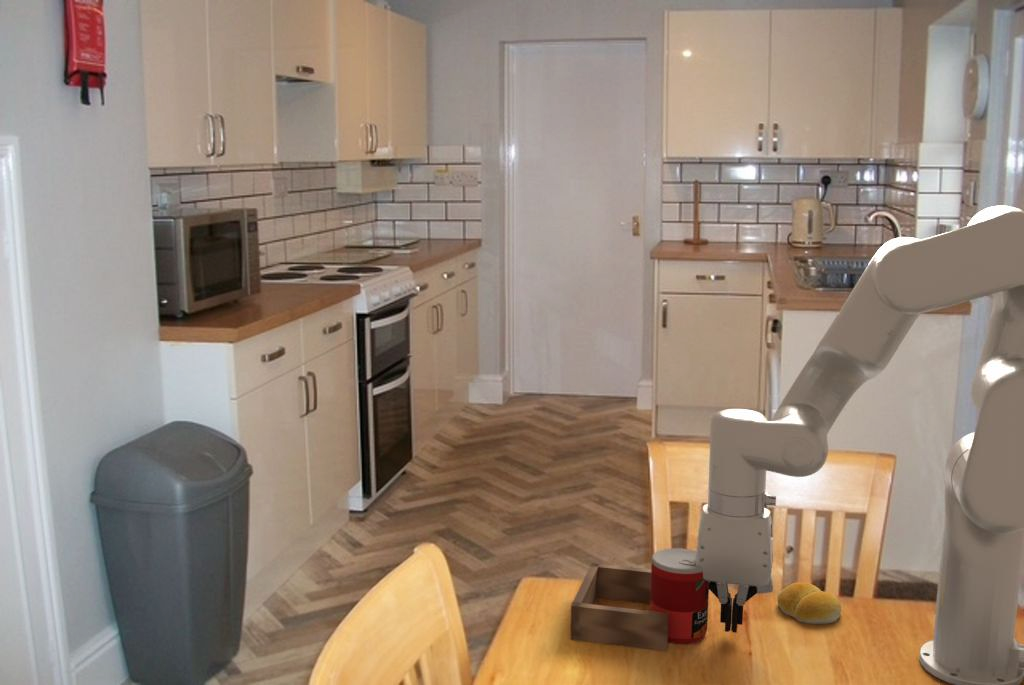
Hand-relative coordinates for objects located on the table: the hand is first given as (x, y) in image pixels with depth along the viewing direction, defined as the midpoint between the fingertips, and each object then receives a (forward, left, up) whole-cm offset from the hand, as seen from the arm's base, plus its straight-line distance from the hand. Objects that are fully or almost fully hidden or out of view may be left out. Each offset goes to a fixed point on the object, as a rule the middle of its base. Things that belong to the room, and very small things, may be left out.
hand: (731, 627), depth 146 cm
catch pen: (+14, -2, -2) cm, 14 cm away
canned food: (+7, 0, -2) cm, 7 cm away
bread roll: (-10, -12, -2) cm, 16 cm away
